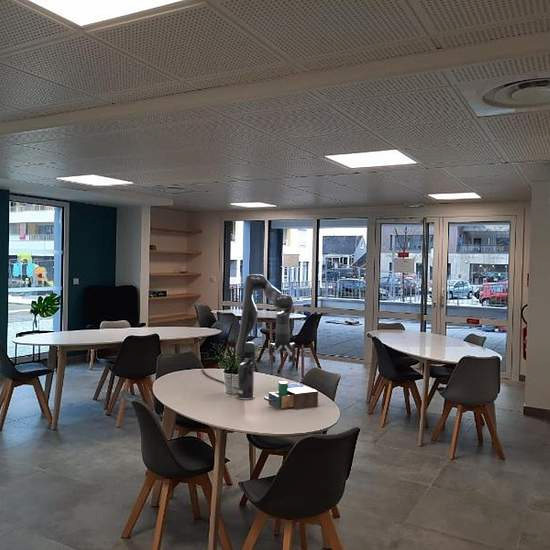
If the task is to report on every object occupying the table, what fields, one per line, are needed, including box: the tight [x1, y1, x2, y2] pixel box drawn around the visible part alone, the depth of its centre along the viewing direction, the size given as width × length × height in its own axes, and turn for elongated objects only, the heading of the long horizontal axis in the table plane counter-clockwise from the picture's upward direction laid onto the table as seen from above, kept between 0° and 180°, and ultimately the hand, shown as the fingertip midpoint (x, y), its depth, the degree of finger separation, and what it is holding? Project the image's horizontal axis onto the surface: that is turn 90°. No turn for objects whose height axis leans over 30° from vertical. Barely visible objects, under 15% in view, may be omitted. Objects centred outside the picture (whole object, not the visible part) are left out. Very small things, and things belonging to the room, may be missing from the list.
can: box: [277, 380, 289, 405], centre depth 299 cm, size 5×5×12 cm
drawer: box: [263, 391, 294, 410], centre depth 298 cm, size 18×12×7 cm, turn 117°
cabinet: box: [288, 386, 319, 410], centre depth 304 cm, size 15×13×9 cm
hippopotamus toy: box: [288, 382, 304, 388], centre depth 323 cm, size 11×15×10 cm
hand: (281, 362), depth 285 cm, fingers open, 8 cm apart
